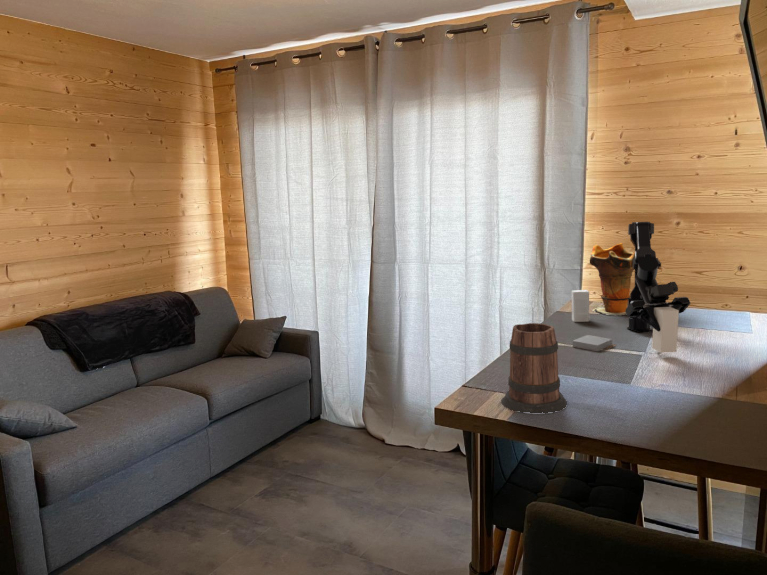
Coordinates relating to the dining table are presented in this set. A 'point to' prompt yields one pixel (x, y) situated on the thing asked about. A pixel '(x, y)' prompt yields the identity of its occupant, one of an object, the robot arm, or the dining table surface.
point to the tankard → (534, 370)
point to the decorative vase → (613, 277)
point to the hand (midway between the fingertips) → (667, 330)
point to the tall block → (666, 329)
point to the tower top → (592, 343)
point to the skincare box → (580, 305)
